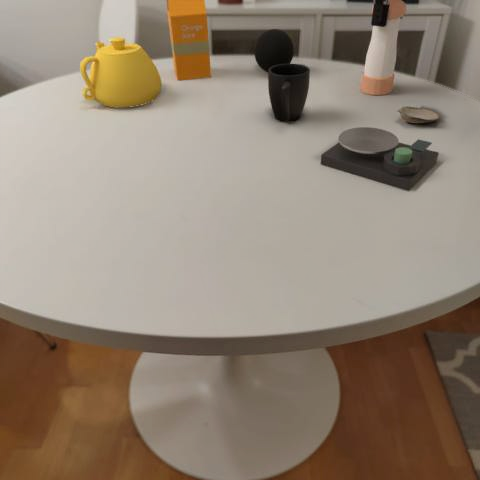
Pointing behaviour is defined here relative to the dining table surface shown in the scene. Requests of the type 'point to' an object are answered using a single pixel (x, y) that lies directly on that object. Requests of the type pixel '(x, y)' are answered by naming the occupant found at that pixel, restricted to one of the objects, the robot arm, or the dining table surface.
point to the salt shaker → (383, 53)
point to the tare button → (403, 155)
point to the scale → (381, 165)
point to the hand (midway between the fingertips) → (386, 21)
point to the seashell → (417, 115)
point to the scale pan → (374, 141)
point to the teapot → (120, 75)
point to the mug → (288, 90)
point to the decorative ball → (273, 49)
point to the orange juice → (189, 38)
